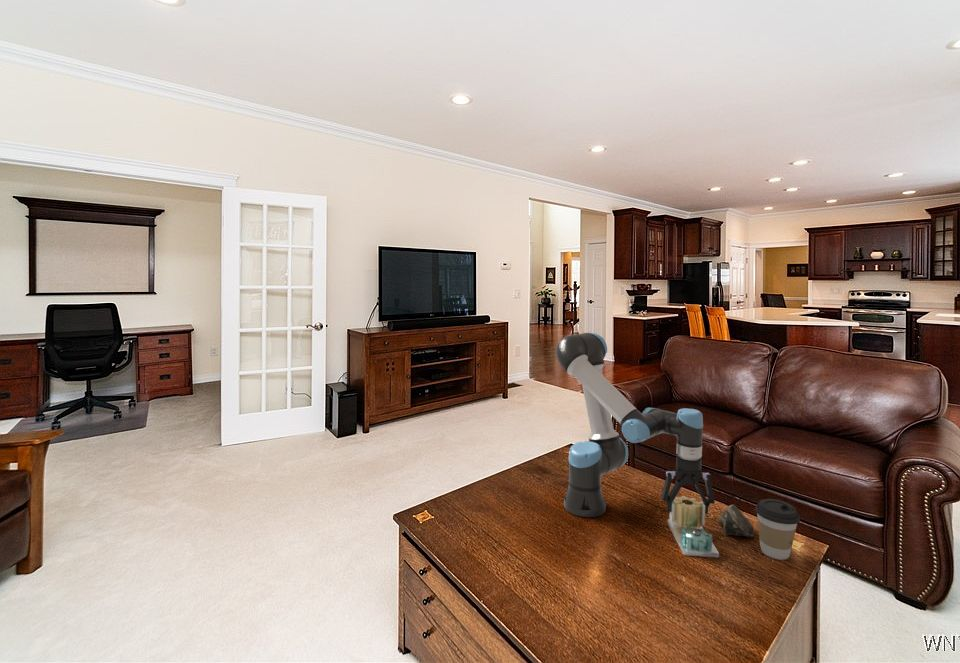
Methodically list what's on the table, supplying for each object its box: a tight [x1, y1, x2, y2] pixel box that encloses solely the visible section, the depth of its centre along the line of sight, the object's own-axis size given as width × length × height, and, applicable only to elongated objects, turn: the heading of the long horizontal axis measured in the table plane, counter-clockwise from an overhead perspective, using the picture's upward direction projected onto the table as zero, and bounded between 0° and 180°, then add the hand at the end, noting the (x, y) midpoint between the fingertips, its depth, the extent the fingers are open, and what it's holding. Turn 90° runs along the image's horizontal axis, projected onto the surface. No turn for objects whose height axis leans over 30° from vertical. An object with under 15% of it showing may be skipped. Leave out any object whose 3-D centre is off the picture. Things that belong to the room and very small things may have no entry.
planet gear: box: [673, 495, 703, 528], centre depth 144 cm, size 9×9×7 cm
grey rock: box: [718, 504, 755, 539], centre depth 144 cm, size 11×9×10 cm
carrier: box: [666, 518, 720, 559], centre depth 140 cm, size 10×18×6 cm, turn 171°
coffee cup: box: [754, 498, 801, 561], centre depth 132 cm, size 11×11×15 cm
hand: (686, 521), depth 145 cm, fingers closed on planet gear, 9 cm apart
